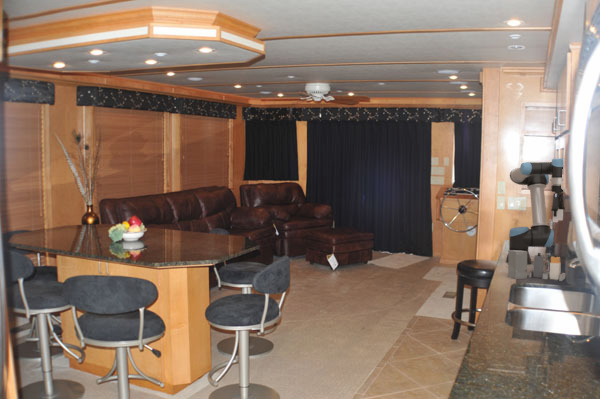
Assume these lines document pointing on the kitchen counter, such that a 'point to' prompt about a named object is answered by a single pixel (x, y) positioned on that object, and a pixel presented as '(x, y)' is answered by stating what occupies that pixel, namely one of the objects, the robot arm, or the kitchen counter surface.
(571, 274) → the kitchen counter surface
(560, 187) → the robot arm
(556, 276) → the plug
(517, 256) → the skincare box
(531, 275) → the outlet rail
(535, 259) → the twin plug
